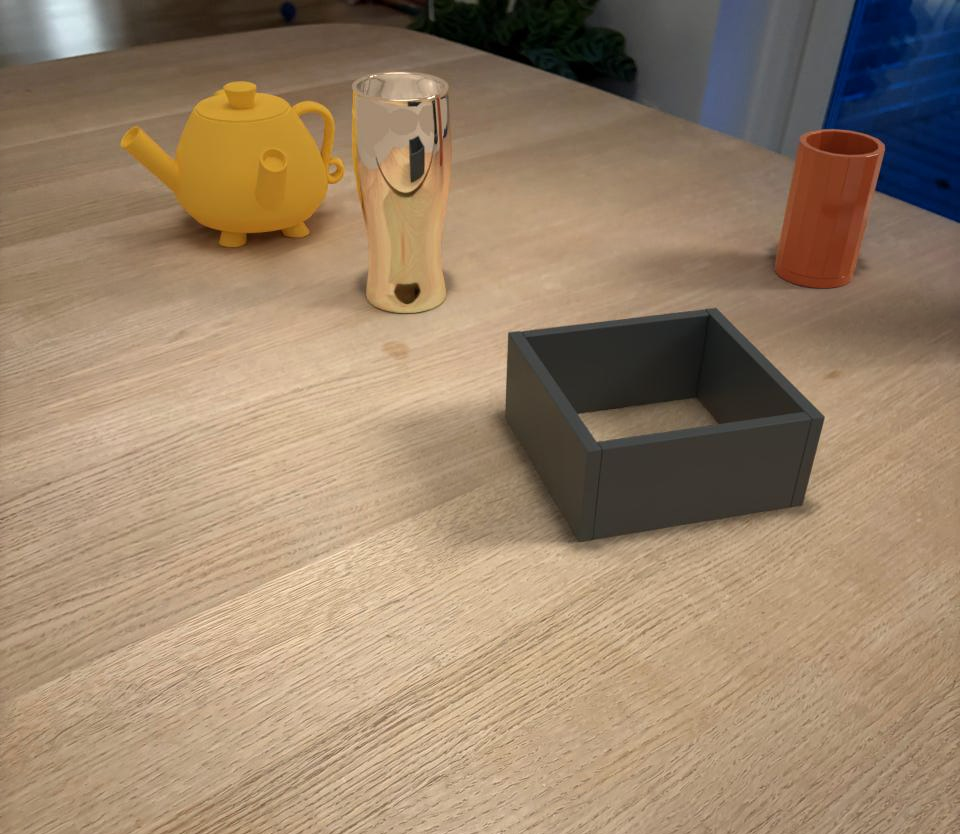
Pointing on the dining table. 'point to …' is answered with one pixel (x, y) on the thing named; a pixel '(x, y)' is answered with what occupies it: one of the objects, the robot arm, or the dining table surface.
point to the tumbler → (828, 207)
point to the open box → (668, 455)
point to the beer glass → (403, 184)
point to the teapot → (245, 163)
